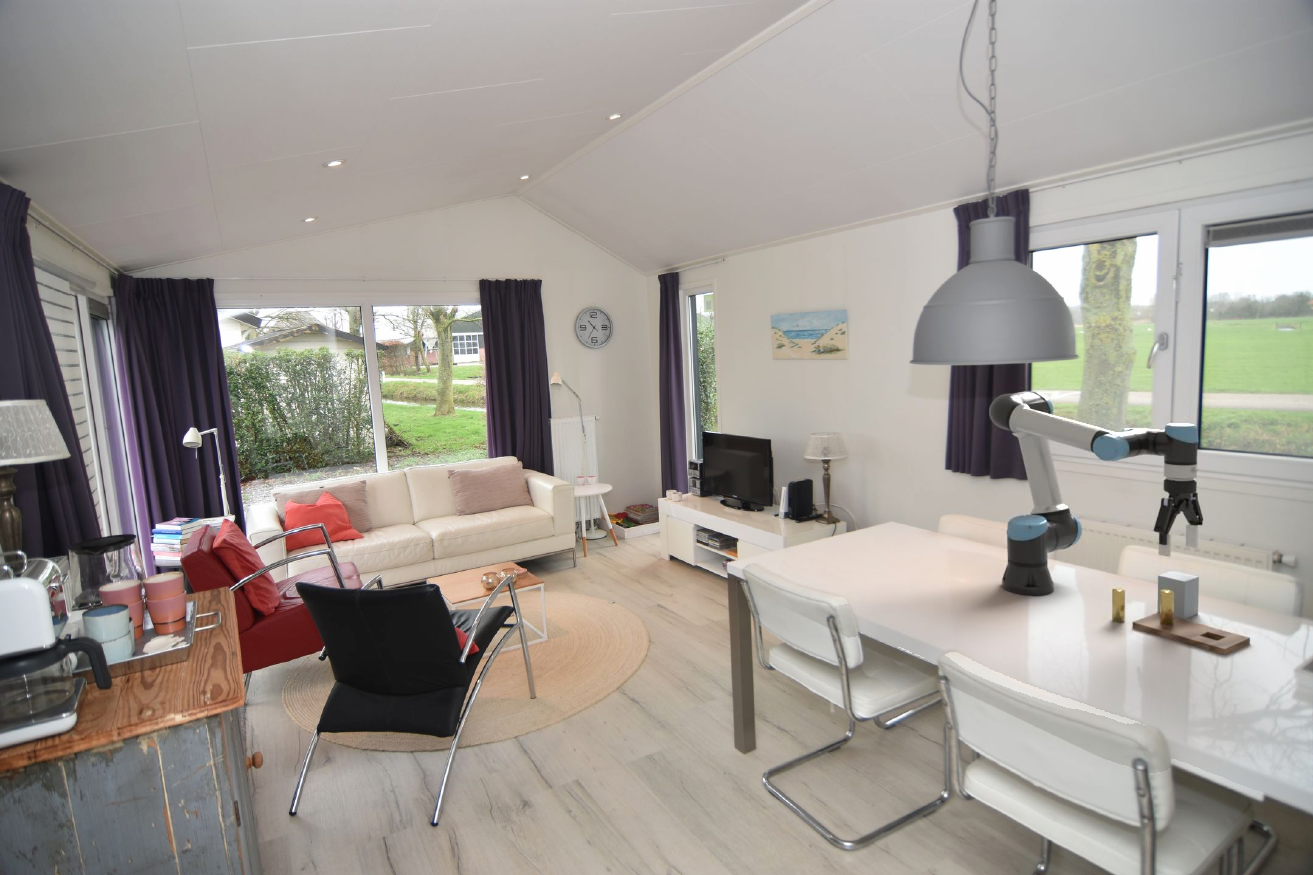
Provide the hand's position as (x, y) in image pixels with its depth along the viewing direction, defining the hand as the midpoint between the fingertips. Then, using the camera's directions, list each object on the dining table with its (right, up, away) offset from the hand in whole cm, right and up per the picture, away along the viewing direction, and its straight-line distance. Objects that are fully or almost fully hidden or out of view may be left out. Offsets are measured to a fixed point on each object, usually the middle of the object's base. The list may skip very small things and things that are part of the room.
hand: (1178, 551), depth 202 cm
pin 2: (-9, -18, -8) cm, 22 cm away
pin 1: (-17, -20, -1) cm, 26 cm away
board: (-7, -20, -13) cm, 25 cm away
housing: (+1, -18, +2) cm, 18 cm away
